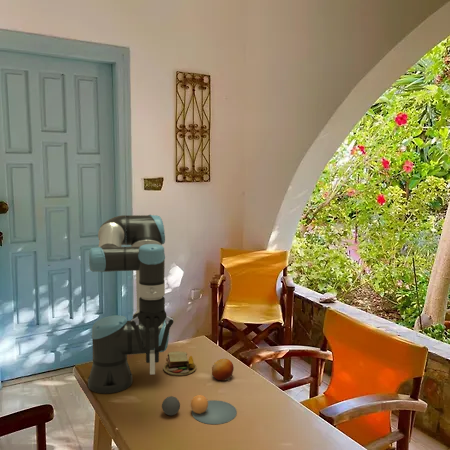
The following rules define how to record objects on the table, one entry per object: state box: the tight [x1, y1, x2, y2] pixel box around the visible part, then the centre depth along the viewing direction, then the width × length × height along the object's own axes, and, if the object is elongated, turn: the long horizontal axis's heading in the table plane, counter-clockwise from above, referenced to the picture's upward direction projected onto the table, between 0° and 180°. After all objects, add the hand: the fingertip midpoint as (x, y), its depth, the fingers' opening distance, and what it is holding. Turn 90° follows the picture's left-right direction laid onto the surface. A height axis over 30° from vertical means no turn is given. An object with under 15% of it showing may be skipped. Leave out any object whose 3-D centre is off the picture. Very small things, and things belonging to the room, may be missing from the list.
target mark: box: [191, 399, 238, 425], centre depth 145 cm, size 14×14×1 cm
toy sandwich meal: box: [162, 351, 197, 377], centre depth 176 cm, size 12×14×5 cm
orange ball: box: [189, 394, 209, 414], centre depth 145 cm, size 6×6×6 cm
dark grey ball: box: [161, 395, 181, 416], centre depth 144 cm, size 6×6×6 cm
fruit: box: [211, 358, 235, 382], centre depth 169 cm, size 8×8×8 cm
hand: (152, 372), depth 141 cm, fingers closed
